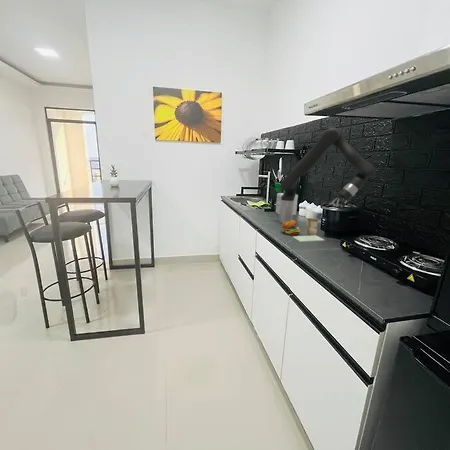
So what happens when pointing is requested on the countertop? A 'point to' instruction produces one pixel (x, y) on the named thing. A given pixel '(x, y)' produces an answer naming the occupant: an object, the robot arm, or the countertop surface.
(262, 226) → the countertop surface
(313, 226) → the beech block
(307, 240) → the sage board
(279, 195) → the supplement box
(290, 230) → the cheeseburger
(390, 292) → the countertop surface
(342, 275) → the countertop surface
